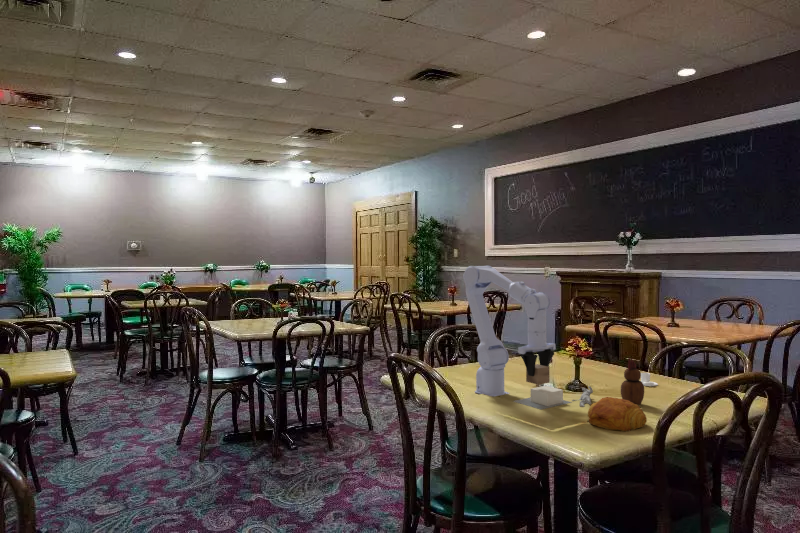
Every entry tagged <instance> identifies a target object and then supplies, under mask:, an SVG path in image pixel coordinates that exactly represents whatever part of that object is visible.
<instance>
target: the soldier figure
mask: <svg viewBox="0 0 800 533" xmlns="http://www.w3.org/2000/svg"><path fill="white" fill-rule="evenodd" d="M587 387H588V388H586V387H581V390H582V394H581V396H580V397H579V399H572V400H571V402H574V401H575V402H576V401H579V407H580V408H581V407H582V408H585V407H586V405H585V404H588V405H592V398H591V397H590V396H591V394H592V393H593V392H594V391H593V390H594V389H593V387H592V386H590V385H588V386H587Z"/></svg>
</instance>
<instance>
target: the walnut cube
mask: <svg viewBox="0 0 800 533" xmlns="http://www.w3.org/2000/svg"><path fill="white" fill-rule="evenodd" d="M525 370H526V371H525V376H526V378H525V379H526V380H525V381H526V383H530V384H533V385H537V386H540V385H543V384H549V383H550V365H549V366H544V365H540V363H539V364H538V363H535V374H534V376H529V375H528V373H527V369H526V368H525Z"/></svg>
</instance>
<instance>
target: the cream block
mask: <svg viewBox="0 0 800 533" xmlns="http://www.w3.org/2000/svg"><path fill="white" fill-rule="evenodd" d="M530 397H531V402H535V403H538V404H542V405H546V406H550V405H554V404H559V403H563V400H564V390H563V389H561V388H557V387H552V386H548V385H542V386H538V387H533V388H530Z"/></svg>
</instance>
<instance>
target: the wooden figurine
mask: <svg viewBox="0 0 800 533" xmlns="http://www.w3.org/2000/svg"><path fill="white" fill-rule="evenodd" d="M627 358H628V360H627V368H626V369H625V370H624V371H623V377H624V379H625V380H623V381H622V382H621V385H620V395H621V396H620V397H621V399H624V400H628V401H630V402H632V403H634V404H636V405H638V406H639V405H641V404H642V402H643V401H644V400H643V399H644V397H645V386H644V385H643V383H642V382H641V380H640V379H641V373H642V372H641V371H640V369H639V368H637V364H636V362H635V361H634V360H633V357H631V358H630V356H628V357H627Z"/></svg>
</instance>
